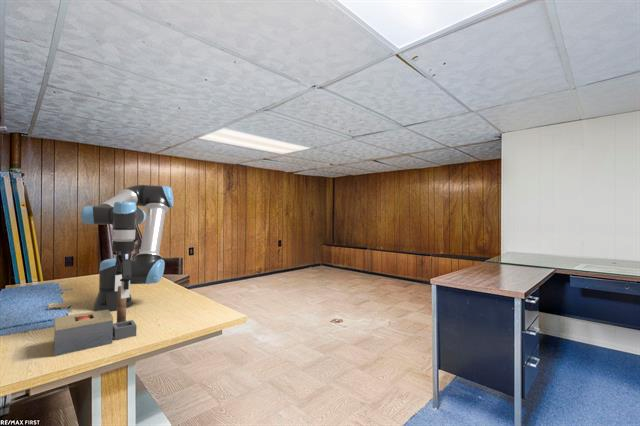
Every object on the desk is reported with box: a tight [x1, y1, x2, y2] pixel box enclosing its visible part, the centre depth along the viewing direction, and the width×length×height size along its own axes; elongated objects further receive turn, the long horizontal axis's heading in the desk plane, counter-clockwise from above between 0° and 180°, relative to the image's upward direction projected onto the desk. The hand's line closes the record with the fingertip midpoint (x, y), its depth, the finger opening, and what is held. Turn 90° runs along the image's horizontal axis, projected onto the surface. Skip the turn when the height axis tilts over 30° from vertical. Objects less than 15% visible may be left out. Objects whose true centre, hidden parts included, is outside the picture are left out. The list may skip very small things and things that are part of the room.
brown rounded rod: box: [116, 286, 127, 323], centre depth 118 cm, size 3×3×16 cm
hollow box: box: [53, 309, 114, 357], centre depth 103 cm, size 11×15×9 cm
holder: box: [113, 319, 137, 341], centre depth 111 cm, size 7×7×4 cm
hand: (121, 294), depth 118 cm, fingers open, 13 cm apart
